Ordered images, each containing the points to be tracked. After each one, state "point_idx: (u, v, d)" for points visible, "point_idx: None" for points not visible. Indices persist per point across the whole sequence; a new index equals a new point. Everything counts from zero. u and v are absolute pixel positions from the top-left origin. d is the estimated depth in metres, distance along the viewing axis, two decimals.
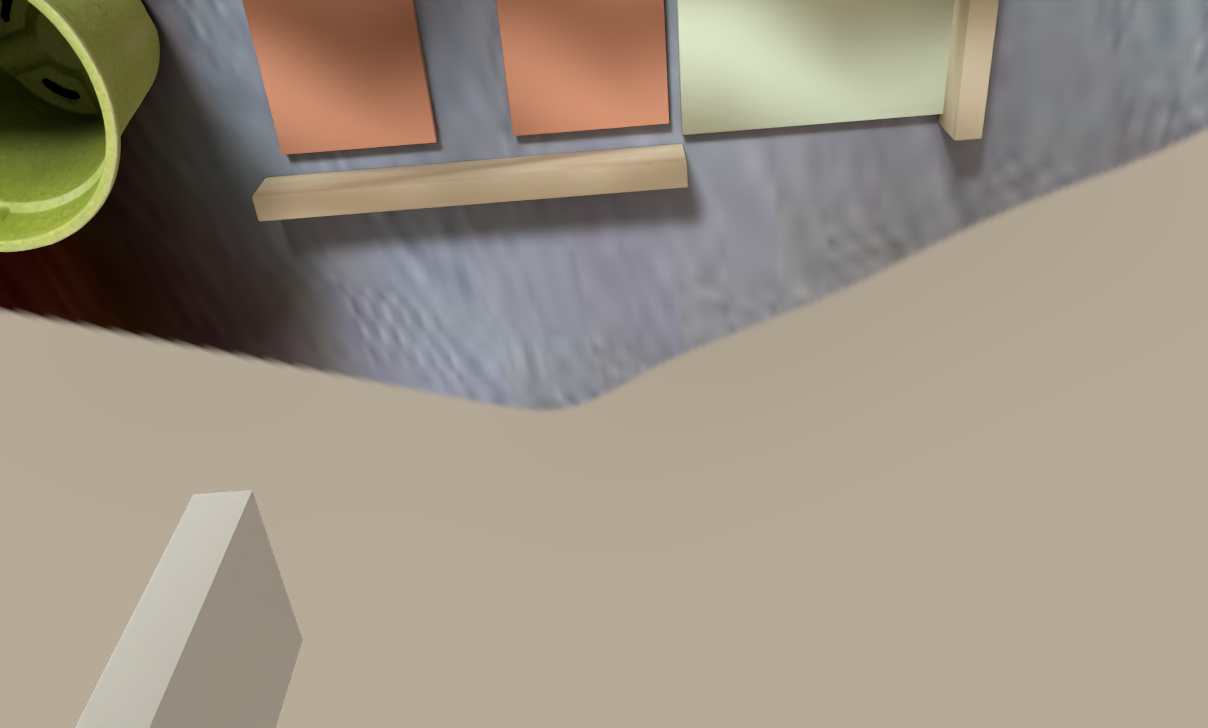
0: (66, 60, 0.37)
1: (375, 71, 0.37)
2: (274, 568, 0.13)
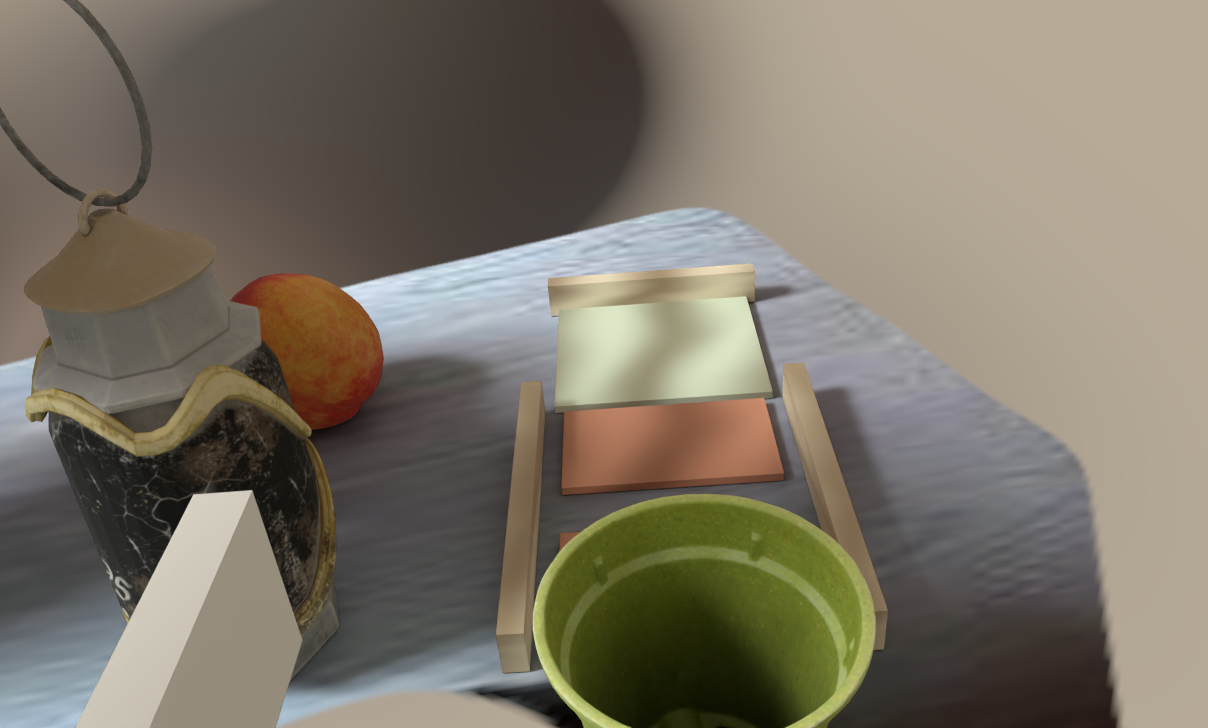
0: None
1: None
2: (274, 567, 0.13)
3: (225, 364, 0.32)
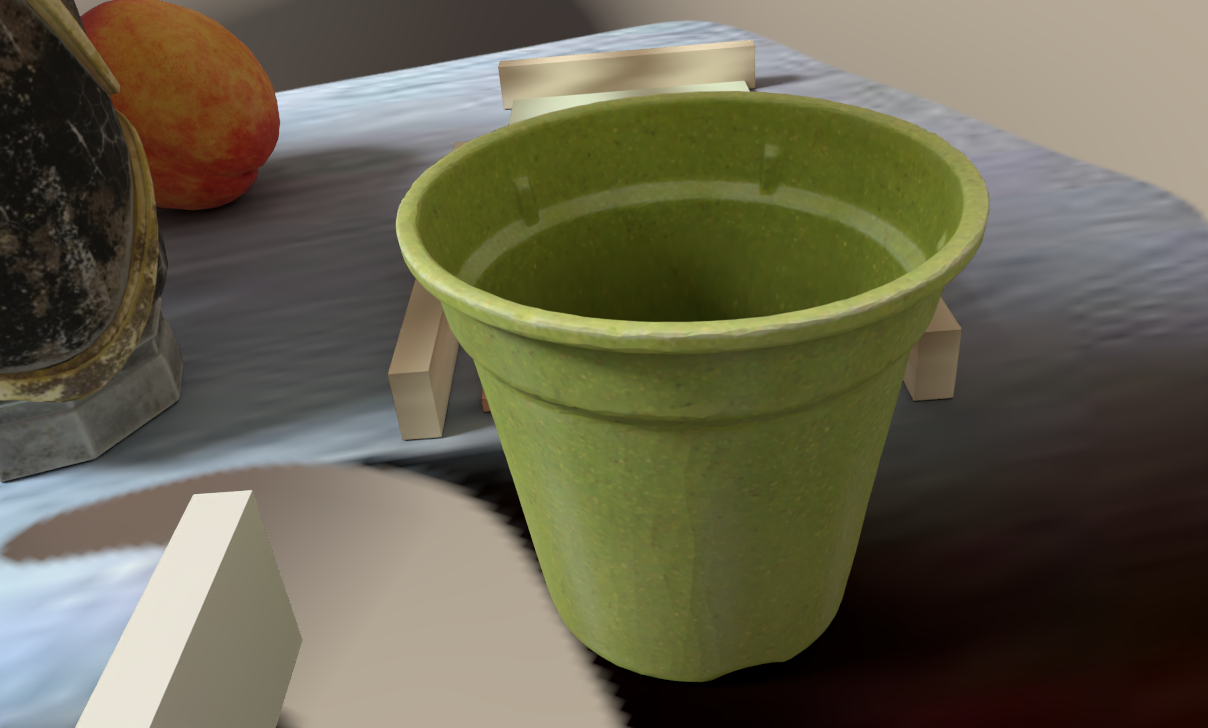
0: None
1: None
2: (274, 567, 0.13)
3: None
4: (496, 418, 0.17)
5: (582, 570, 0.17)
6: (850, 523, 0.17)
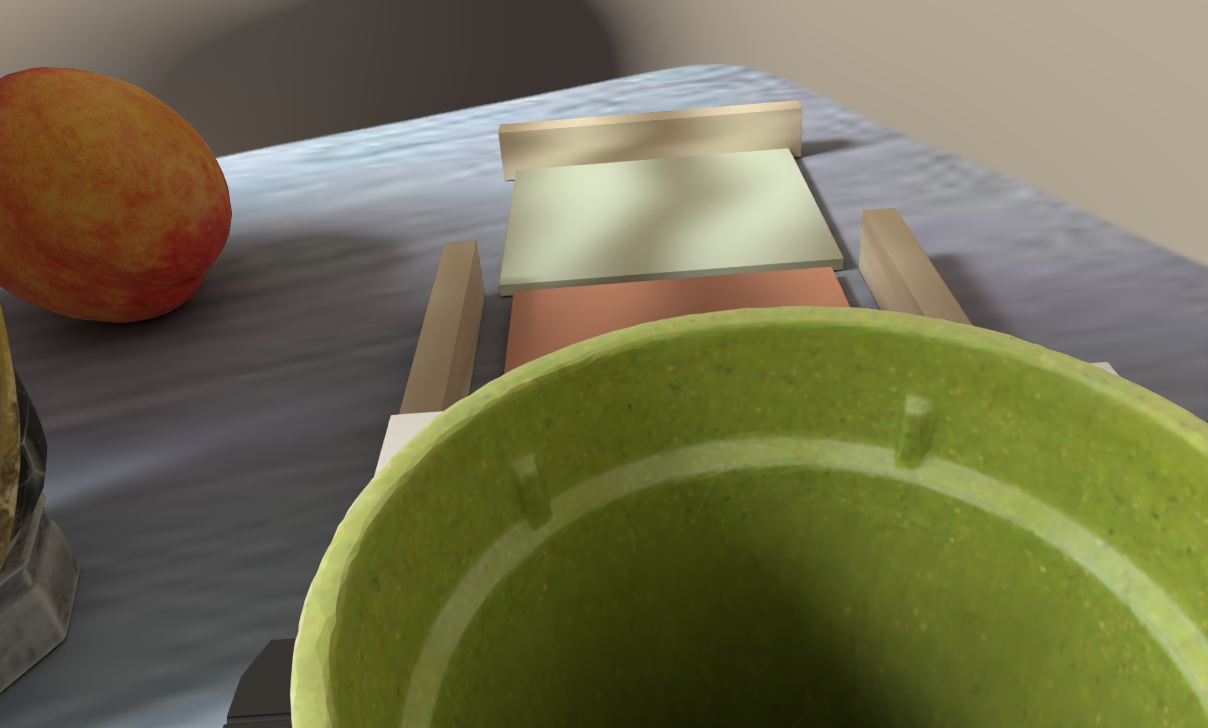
0: None
1: None
2: None
3: None
4: None
5: None
6: None
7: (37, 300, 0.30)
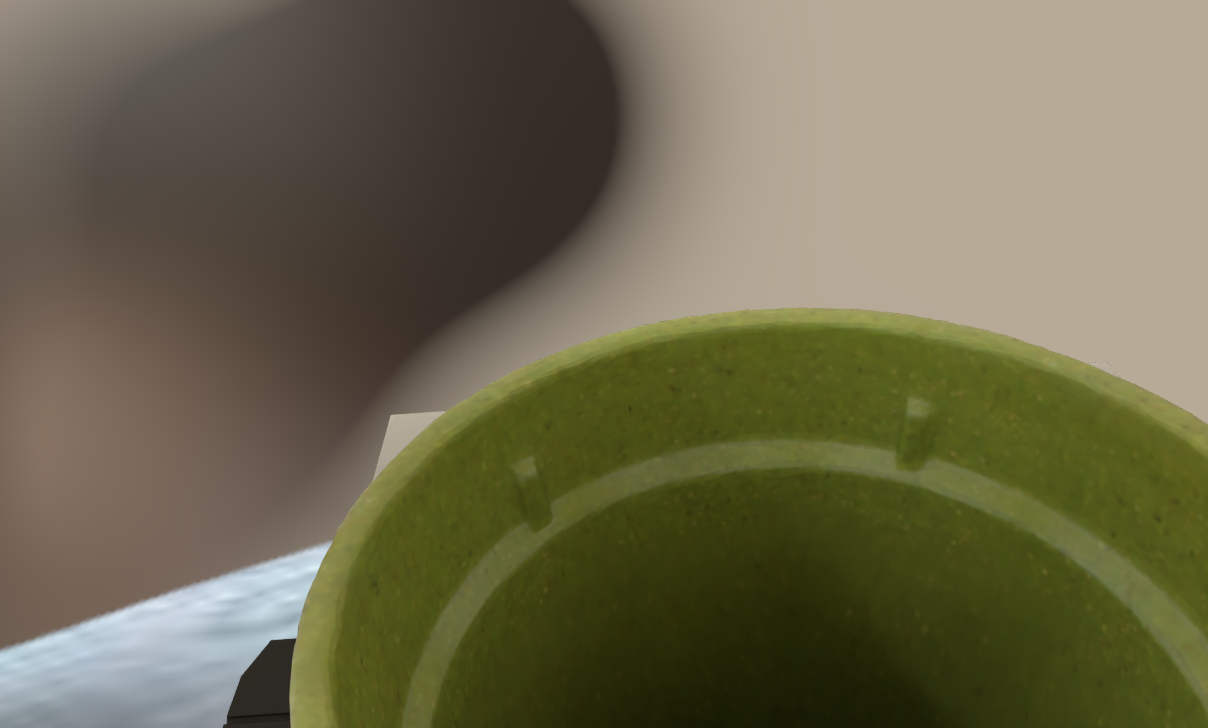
0: None
1: None
2: None
3: None
4: None
5: None
6: None
7: None
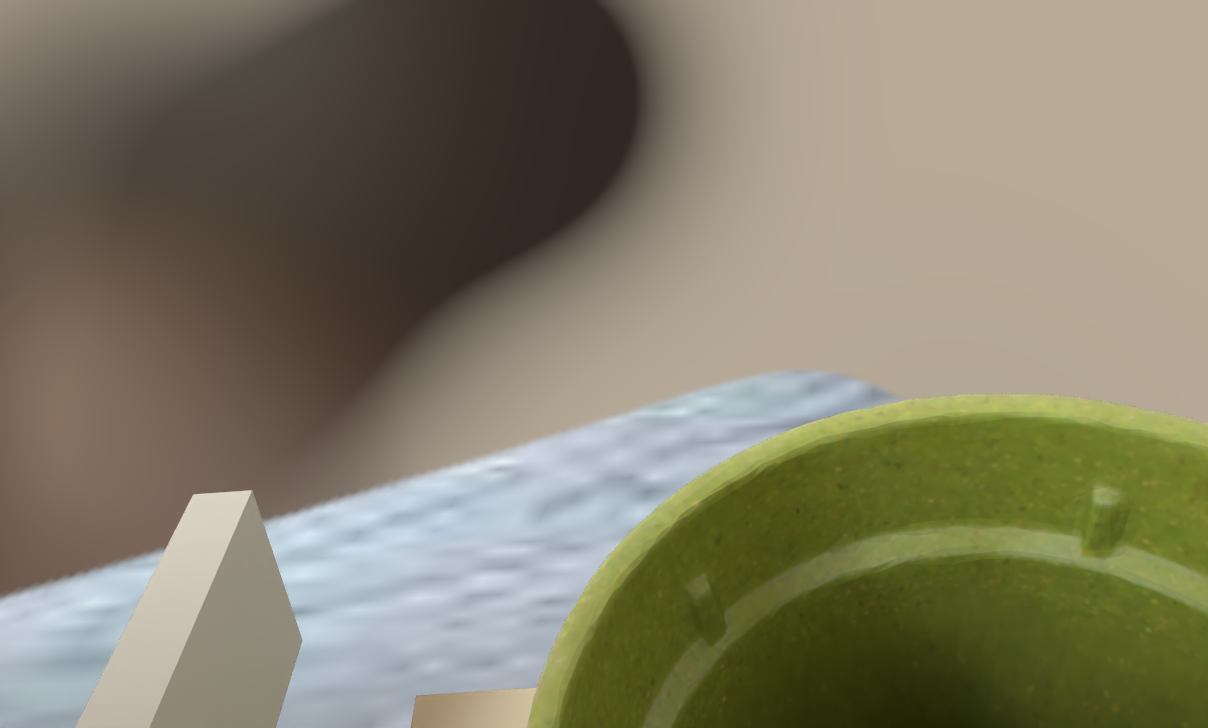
0: None
1: None
2: (274, 567, 0.13)
3: None
4: None
5: None
6: None
7: None
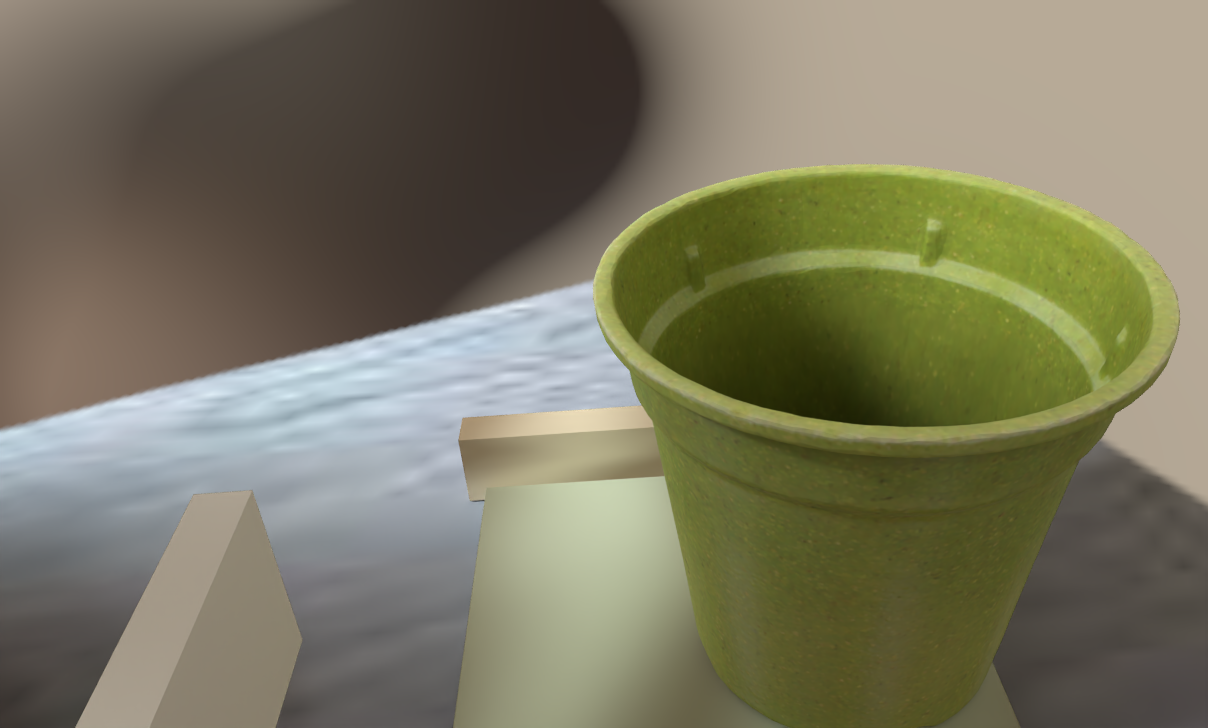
0: None
1: None
2: (275, 568, 0.13)
3: None
4: (675, 485, 0.18)
5: (749, 632, 0.18)
6: (1013, 598, 0.18)
7: None
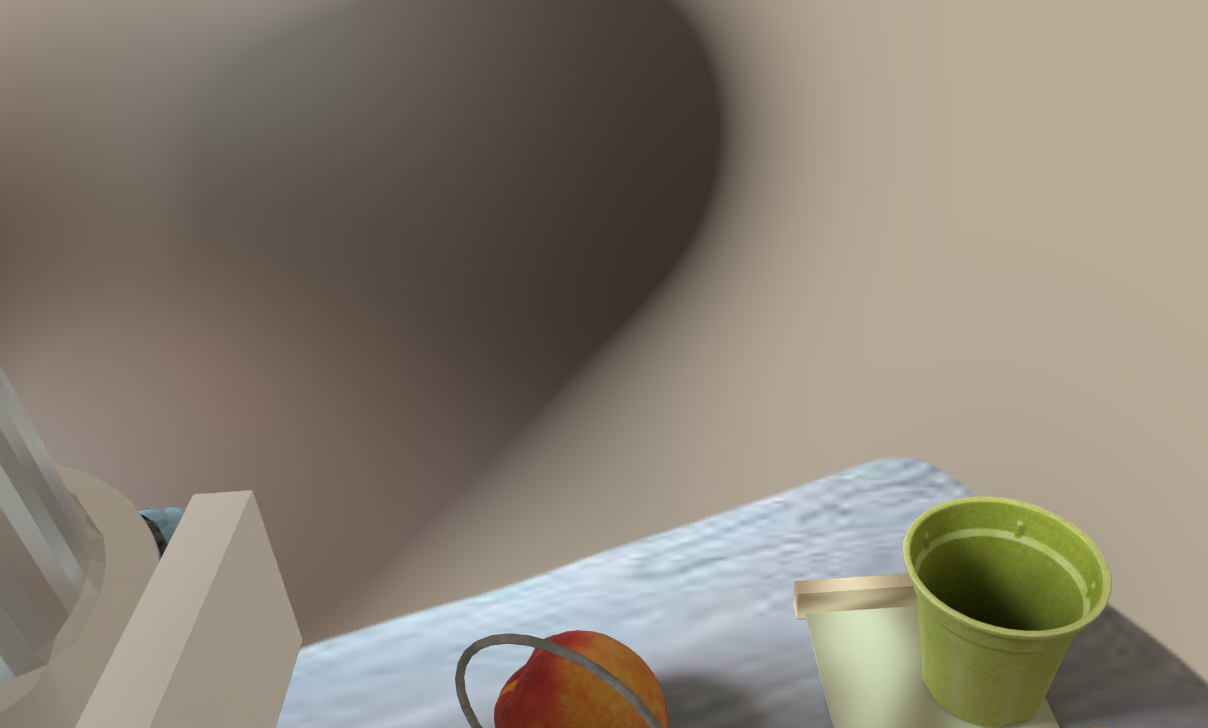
0: None
1: None
2: (274, 567, 0.13)
3: None
4: (932, 634, 0.49)
5: (958, 687, 0.50)
6: (1055, 674, 0.49)
7: None
